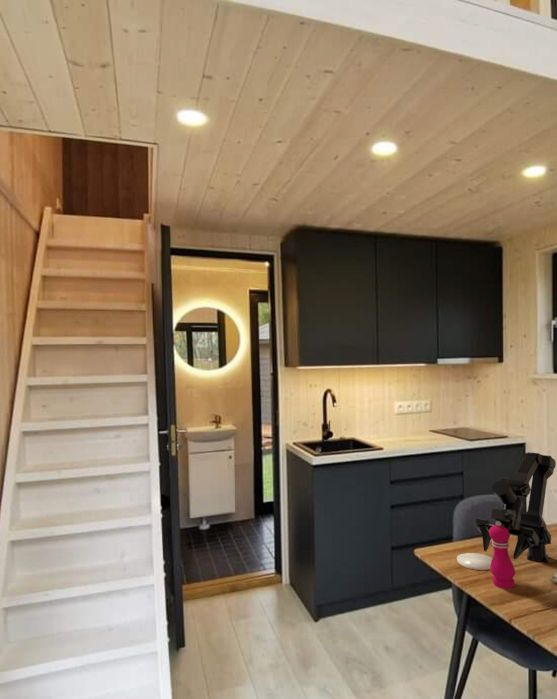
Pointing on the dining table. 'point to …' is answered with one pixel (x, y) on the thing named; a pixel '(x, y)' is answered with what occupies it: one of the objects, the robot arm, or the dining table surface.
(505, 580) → the pepper mill
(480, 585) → the dining table surface
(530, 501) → the robot arm
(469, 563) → the ceramic plate
